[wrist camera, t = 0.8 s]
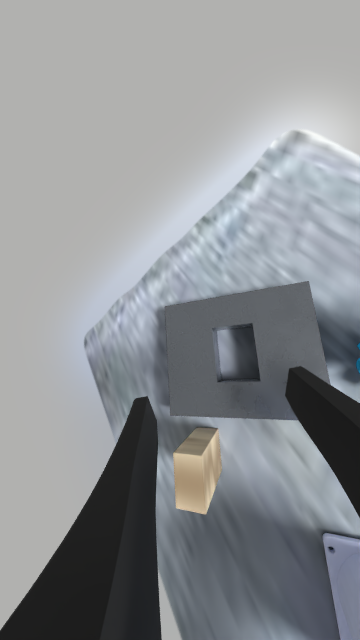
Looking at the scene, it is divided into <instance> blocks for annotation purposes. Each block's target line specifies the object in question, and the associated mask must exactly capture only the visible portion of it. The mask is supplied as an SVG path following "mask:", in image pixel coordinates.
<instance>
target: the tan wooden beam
mask: <svg viewBox="0 0 360 640" xmlns="http://www.w3.org/2000/svg"><path fill="white" fill-rule="evenodd" d="M173 458H174V477H175V496H176V508H178V509H182V510H187V511H192V512H196V513H201V514H206V513H207V510H208V508H209V505H210V502H211V499H212V496H213V493H214V491H215V488H216V485H217V482H218V479H219V476H220V474H221V471H222V465H221V455H220V444H219V433H218V429H216V428H199V427H197V428H196V429H195V430H194V431H193V432H192V433H191V434H190V435H189V436H188V437H187V438H186V440H185V441H184V442H183V443H182V444H181V445H180V446H179V447H178V448H177V449H176V450H175V451H174V453H173Z"/></svg>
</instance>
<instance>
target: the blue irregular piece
mask: <svg viewBox="0 0 360 640" xmlns="http://www.w3.org/2000/svg"><path fill="white" fill-rule="evenodd" d="M357 346H358V348H359V350H360V343H359V344H358V345H357ZM356 367H357V369H358V371H359V373H360V358H359V359H358V360H357V362H356Z"/></svg>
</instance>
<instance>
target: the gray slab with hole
mask: <svg viewBox="0 0 360 640" xmlns="http://www.w3.org/2000/svg"><path fill="white" fill-rule="evenodd" d="M165 319H166V339H167V358H168V378H169V397H170V416H197V417H224V418H251V419H278V420H298V419H297V417H296V415H295V414H294V412H293V410H292V408H291V406H290V404H289V402H288V401H287V399H286V397H285V392H286V385H287V379H288V372H289V368H294V367H299V366H302V367H303V368H305V369H307V370H308V371H310V372H311V373H313V374H314V375H316V376H317V377H319V378H320V379H322V380H323V381H325V382H326V383H328V384H330V380H329V375H328V371H327V366H326V361H325V356H324V352H323V347H322V342H321V337H320V332H319V328H318V323H317V318H316V313H315V309H314V304H313V299H312V294H311V290H310V285H309V281H307V282H301V283H295V284H290V285H284V286H278V287H273V288H267V289H261V290H256V291H250V292H245V293H239V294H233V295H228V296H222V297H216V298H211V299H205V300H199V301H194V302H188V303H183V304H177V305H171V306H166V307H165ZM251 326H253V330H254V338H255V345H256V352H257V359H258V366H259V373H260V379H242V380H222V379H221V370H220V360H219V350H218V341H217V330H226V329H234V328H243V327H251Z"/></svg>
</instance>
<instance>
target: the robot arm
mask: <svg viewBox="0 0 360 640" xmlns="http://www.w3.org/2000/svg"><path fill="white" fill-rule="evenodd" d="M285 397H286V399H287V401H288V402H289V404H290V406H291V408H292V410H293V412H294V414H295V415H296V417H297V419H298V420H299V422H300V423H301V424H302V426H303V427H304V429H305V430H306V432H307V433H308V435H309V436H310V438H311V439H312V441H313V442H314V444H315V445H316V446H317V448H318V449H319V451H320V452H321V454H322V455H323V457H324V458H325V460H326V461H327V462H328V464H329V466H330V467H331V469H332V470H333V472H334V473H335V475H336V477H337V478H338V480H339V482H340V484H341V485H342V487H343V489H344V491H345V492H346V494H347V496H348V498H349V499H350V501H351V503H352V505H353V506H354V508H355V510H356V512H357V514H358V516H359V517H360V403H358V402H357V401H355V400H353V399H352V398H350V397H348V396H347V395H345V394H344V393H342V392H340V391H339V390H337V389H336V388H334V387H333V386H331V385H330V384H328V383H326V382H325V381H323V380H322V379H320V378H319V377H317V376H316V375H314V374H313V373H311V372H310V371H308V370H307V369H305V368H303V367H302V366H299V367H294V368H289V372H288V379H287V385H286V392H285ZM157 454H158V435H157V420H156V418H155V415H154V412H153V410H152V407H151V404H150V402H149V399H148V396H146V397H141V398H136V399H135V400H134V402H133V405H132V408H131V410H130V413H129V416H128V418H127V421H126V423H125V426H124V428H123V430H122V433H121V435H120V437H119V440H118V442H117V444H116V446H115V449H114V451H113V453H112V455H111V457H110V459H109V461H108V463H107V465H106V467H105V469H104V471H103V473H102V475H101V477H100V479H99V481H98V482H97V484H96V486H95V488H94V490H93V491H92V493H91V495H90V497H89V499H88V500H87V502H86V504H85V505H84V507H83V509H82V510H81V512H80V514H79V515H78V517H77V519H76V520H75V522H74V524H73V525H72V527H71V528H70V530H69V532H68V533H67V535H66V536H65V538H64V540H63V541H62V543H61V544H60V546H59V547H58V549H57V550H56V552H55V553H54V555H53V556H52V558H51V559H50V561H49V562H48V564H47V565H46V567H45V568H44V570H43V571H42V573H41V574H40V576H39V577H38V579H37V580H36V582H35V583H34V584H33V586H32V587H31V589H30V590H29V592H28V593H27V594H26V596H25V597H24V598H23V600H22V601H21V603H20V604H19V605H18V607H17V608H16V609H15V611H14V612H13V614H12V615H11V616H10V618H9V619H8V621H7V622H6V623H5V625H4V626H3V627H2V629H1V630H0V640H162V639H161V623H160V607H159V588H158V567H157V543H156V512H155V507H156V477H157ZM323 544H324V549H325V555H326V561H327V566H328V572H329V578H330V583H331V589H332V595H333V601H334V606H335V612H336V618H337V623H338V629H339V635H340V640H360V540H359V539H354V538H349V537H344V536H339V535H334V534H330V533H325V534H323ZM329 546H331V547H333V548H334V549H333V550H330V549H329V548H328V547H329Z"/></svg>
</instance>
